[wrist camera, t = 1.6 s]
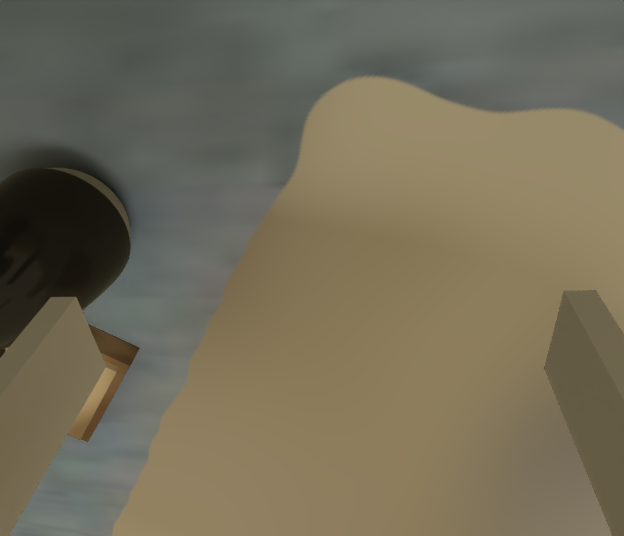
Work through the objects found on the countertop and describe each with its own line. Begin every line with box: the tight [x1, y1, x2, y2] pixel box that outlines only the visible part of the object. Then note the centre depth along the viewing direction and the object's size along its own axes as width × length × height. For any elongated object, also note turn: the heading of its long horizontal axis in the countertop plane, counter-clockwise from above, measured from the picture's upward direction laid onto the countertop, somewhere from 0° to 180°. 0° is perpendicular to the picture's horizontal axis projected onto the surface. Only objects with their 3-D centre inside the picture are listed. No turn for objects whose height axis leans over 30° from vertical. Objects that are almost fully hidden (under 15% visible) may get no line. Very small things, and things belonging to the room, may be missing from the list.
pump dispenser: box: [0, 167, 130, 358], centre depth 34 cm, size 10×10×15 cm
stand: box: [6, 325, 139, 442], centre depth 50 cm, size 14×14×3 cm
